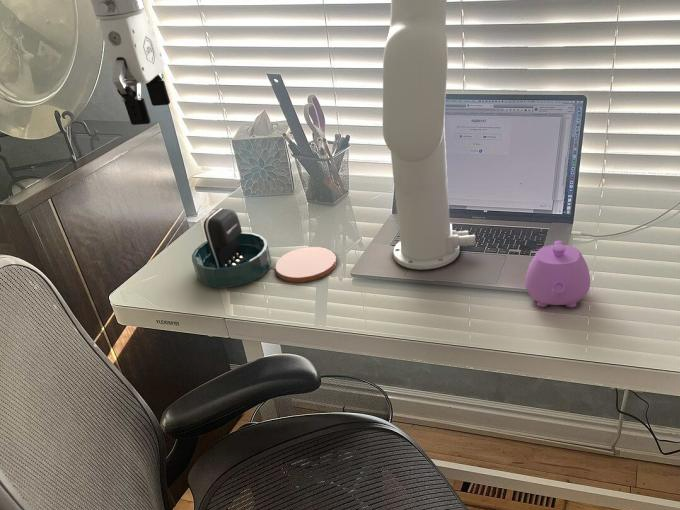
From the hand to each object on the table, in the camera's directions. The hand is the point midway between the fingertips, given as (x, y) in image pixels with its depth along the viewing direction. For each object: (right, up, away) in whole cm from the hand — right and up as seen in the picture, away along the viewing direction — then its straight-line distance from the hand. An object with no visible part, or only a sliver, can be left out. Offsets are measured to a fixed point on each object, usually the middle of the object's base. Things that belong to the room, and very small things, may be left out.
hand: (151, 113), depth 117 cm
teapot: (+68, -32, -3) cm, 75 cm away
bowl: (+10, -25, +16) cm, 31 cm away
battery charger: (+10, -25, +15) cm, 31 cm away
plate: (+24, -24, +14) cm, 37 cm away
